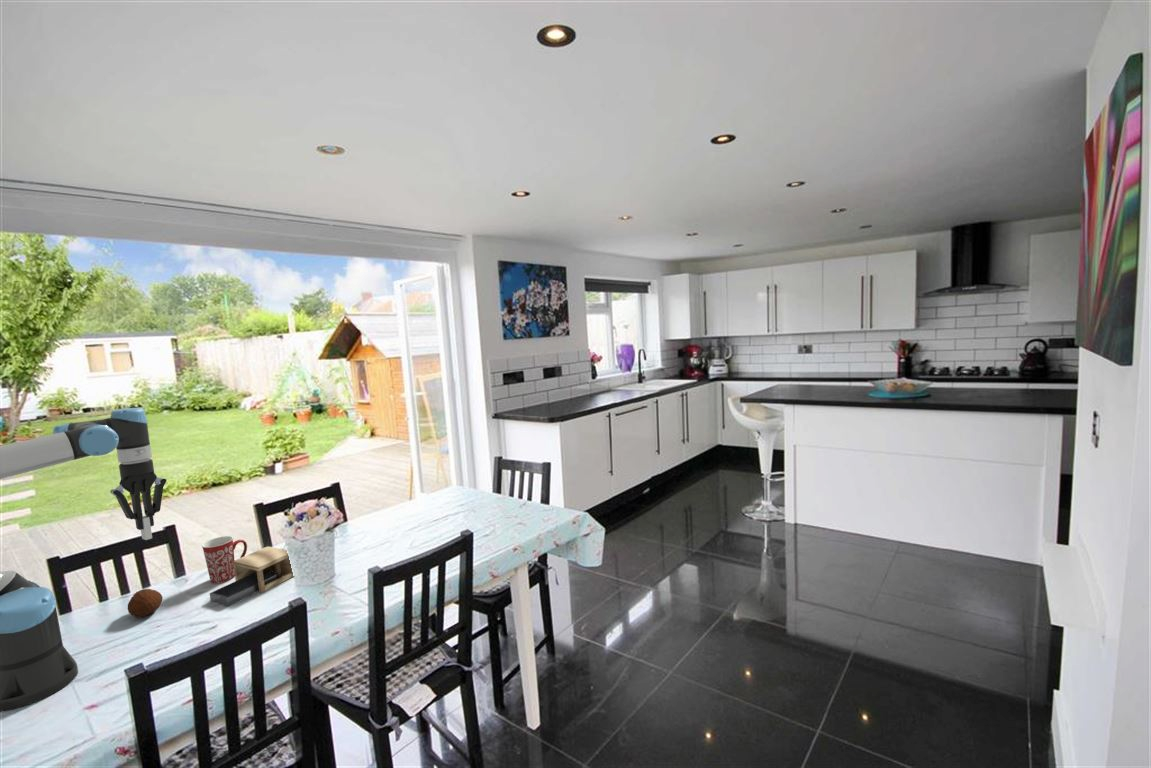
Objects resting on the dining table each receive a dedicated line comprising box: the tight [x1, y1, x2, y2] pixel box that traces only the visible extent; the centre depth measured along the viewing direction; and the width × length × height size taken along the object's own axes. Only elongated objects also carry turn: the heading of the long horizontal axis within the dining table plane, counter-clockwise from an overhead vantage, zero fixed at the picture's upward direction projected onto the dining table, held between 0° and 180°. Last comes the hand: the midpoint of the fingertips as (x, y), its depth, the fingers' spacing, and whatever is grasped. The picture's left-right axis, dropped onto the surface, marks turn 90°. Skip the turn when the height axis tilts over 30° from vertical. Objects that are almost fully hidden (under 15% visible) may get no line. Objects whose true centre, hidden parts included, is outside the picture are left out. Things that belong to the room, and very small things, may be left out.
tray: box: [209, 571, 277, 607], centre depth 166 cm, size 16×9×3 cm, turn 154°
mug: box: [201, 535, 248, 584], centre depth 176 cm, size 13×9×14 cm
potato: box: [127, 588, 164, 618], centre depth 156 cm, size 8×11×8 cm
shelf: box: [233, 545, 294, 594], centre depth 172 cm, size 12×13×9 cm
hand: (147, 538), depth 151 cm, fingers closed
